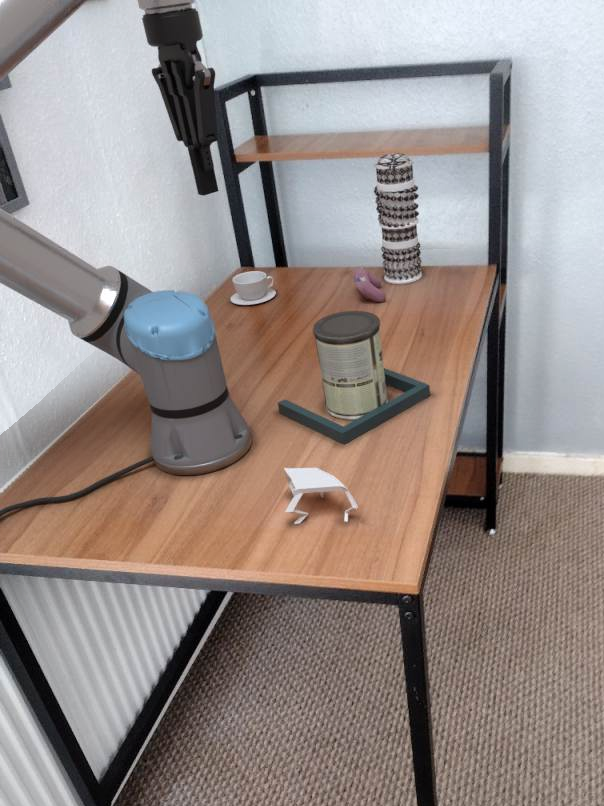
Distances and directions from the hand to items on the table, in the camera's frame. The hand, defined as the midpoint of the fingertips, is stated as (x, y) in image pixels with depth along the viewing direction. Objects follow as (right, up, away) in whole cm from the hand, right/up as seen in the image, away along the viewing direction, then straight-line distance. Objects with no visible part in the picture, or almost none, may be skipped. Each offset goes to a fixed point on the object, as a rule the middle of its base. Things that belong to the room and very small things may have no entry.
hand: (208, 192), depth 120 cm
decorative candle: (+31, +3, +55) cm, 63 cm away
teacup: (-2, -2, +53) cm, 53 cm away
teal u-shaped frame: (+22, -31, +10) cm, 39 cm away
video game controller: (+24, -3, +48) cm, 53 cm away
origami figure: (+18, -49, -13) cm, 54 cm away
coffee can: (+22, -31, +10) cm, 39 cm away
